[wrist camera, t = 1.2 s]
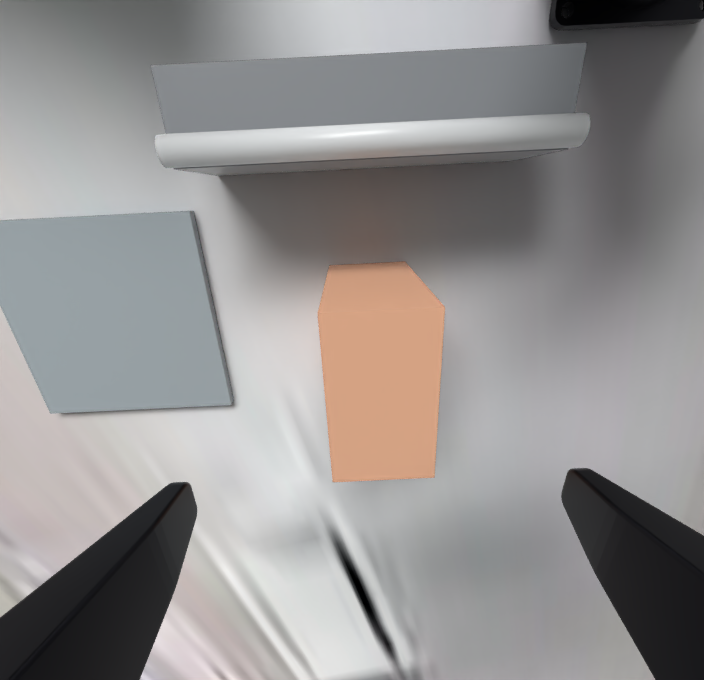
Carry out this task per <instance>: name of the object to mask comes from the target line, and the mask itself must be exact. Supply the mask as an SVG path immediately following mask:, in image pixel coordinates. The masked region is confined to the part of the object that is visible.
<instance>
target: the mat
mask: <svg viewBox="0 0 704 680" xmlns="http://www.w3.org/2000/svg"><path fill="white" fill-rule="evenodd" d="M0 306H1V308H2V311H3V313H4V315H5V317H6V319H7V321H8V323H9V326H10V328H11V330H12V332H13V334H14V336H15V338H16V341H17V343H18V345H19V347H20V349H21V351H22V353H23V356H24V358H25V360H26V362H27V364H28V366H29V368H30V371H31V373H32V375H33V377H34V379H35V381H36V383H37V386H38V388H39V390H40V392H41V394H42V396H43V399H44V401H45V403H46V405H47V407H48V409H49V411H50V414H51V413H72V412H93V411H114V410H136V409H157V408H178V407H199V406H220V405H231V404H232V403H233V401H234V399H233V395H232V390H231V385H230V381H229V376H228V371H227V366H226V362H225V357H224V352H223V348H222V343H221V338H220V334H219V329H218V324H217V319H216V315H215V310H214V305H213V301H212V296H211V291H210V286H209V282H208V277H207V272H206V268H205V263H204V258H203V253H202V249H201V244H200V239H199V235H198V230H197V225H196V221H195V216H194V211H180V212H160V213H140V214H120V215H100V216H80V217H60V218H40V219H20V220H0Z"/></svg>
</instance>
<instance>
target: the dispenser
mask: <svg viewBox="0 0 704 680" xmlns="http://www.w3.org/2000/svg"><path fill="white" fill-rule="evenodd" d="M586 46H587V43H568V44H548V45H529V46H510V47H491V48H471V49H452V50H433V51H414V52H394V53H375V54H356V55H337V56H317V57H298V58H279V59H259V60H240V61H221V62H202V63H182V64H163V65H151V69H152V74H153V78H154V83H155V87H156V91H157V96H158V100H159V105H160V109H161V114H162V118H163V123H164V127H165V132H166V134H157V135H156V136H155V149H156V153H157V156H158V158H159V160H160V162H161V163H162V165H163V166H164V167H165V168H174V169H176V170H183V171H190V172H196V173H203V174H210V175H216V176H222V175H242V174H261V173H281V172H301V171H321V170H341V169H361V168H380V167H400V166H420V165H440V164H460V163H480V162H499V161H514V160H518V159H523V158H528V157H533V156H538V155H543V154H548V153H552V152H557V151H562V150H567V149H568V148H576V147H579V146H581V145H582V144H583V143H584V141H585V140H586V138H587V136H588V133H589V130H590V124H591V120H590V116H589V114H588V113H575V108H576V103H577V97H578V91H579V86H580V80H581V74H582V69H583V63H584V57H585V52H586Z"/></svg>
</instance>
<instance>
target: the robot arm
mask: <svg viewBox="0 0 704 680" xmlns="http://www.w3.org/2000/svg"><path fill="white" fill-rule="evenodd" d="M700 1H701V0H552V3H551V10H550V23H551V26H552V27H553V28H554V29H556V30H575V29H594V28H614V27H633V26H652V25H671V24H690V23H696V22H699V21H701V20H703V19H704V0H702V1H703V9H702V10H701V9H700V7H699V6H700ZM562 7H566V8H567V9H568V17H567V18H564V17H563V16H562V14H561V10H562ZM561 498H562V503H563V506H564V508H565V510H566V512H567V514H568V516H569V519H570V521H571V523H572V525H573V527H574V530H575V532H576V534H577V536H578V538H579V540H580V543H581V545H582V547H583V549H584V551H585V553H586V556H587V558H588V560H589V562H590V564H591V566H592V568H593V570H594V572H595V574H596V576H597V578H598V580H599V581H600V583H601V585H602V587H603V589H604V590H605V592H606V594H607V596H608V597H609V599H610V601H611V603H612V604H613V606H614V608H615V610H616V611H617V613H618V615H619V617H620V618H621V620H622V622H623V624H624V625H625V627H626V629H627V631H628V632H629V634H630V636H631V638H632V639H633V641H634V643H635V645H636V646H637V648H638V650H639V652H640V653H641V655H642V657H643V659H644V660H645V662H646V664H647V666H648V667H649V669H650V671H651V673H652V674H653V676H654V678H655V680H704V536H703V535H702V534H700V533H698V532H696V531H695V530H693V529H691V528H690V527H688V526H686V525H685V524H683V523H681V522H679V521H678V520H676V519H674V518H673V517H671V516H669V515H667V514H666V513H664V512H662V511H661V510H659V509H657V508H656V507H654V506H652V505H650V504H649V503H647V502H645V501H644V500H642V499H640V498H639V497H637V496H635V495H633V494H632V493H630V492H628V491H627V490H625V489H623V488H621V487H620V486H618V485H616V484H615V483H613V482H611V481H610V480H608V479H606V478H604V477H603V476H601V475H599V474H598V473H596V472H594V471H592V470H591V469H588V468H575V469H570V470H569V471H568V473H567V476H566V479H565V483H564V486H563V490H562V495H561ZM196 517H197V505H196V501H195V498H194V494H193V491H192V487H191V485H190V484H189V483H188V482H174V483H170V484H169V485H167V486H166V487H165V488H163V489H162V490H161V491H159V492H158V493H157V494H156V495H154V496H153V497H152V498H151V499H149V500H148V501H147V502H146V503H144V504H143V505H142V506H141V507H139V508H138V509H137V510H135V511H134V512H133V513H132V514H130V515H129V516H128V517H127V518H125V519H124V520H123V521H122V522H120V523H119V524H118V525H117V526H115V527H114V528H113V529H111V530H110V531H109V532H108V533H106V534H105V535H104V536H103V537H101V538H100V539H99V540H98V541H96V542H95V543H94V544H93V545H91V546H90V547H89V548H87V549H86V550H85V551H84V552H82V553H81V554H80V555H79V556H77V557H76V558H75V559H74V560H72V561H71V562H70V563H69V564H67V565H66V566H65V567H63V568H62V569H61V570H60V571H58V572H57V573H56V574H55V575H53V576H52V577H51V578H50V579H48V580H47V581H46V582H44V583H43V584H42V585H41V586H39V587H38V588H37V589H36V590H34V591H33V592H32V593H31V594H29V595H28V596H27V597H26V598H24V599H23V600H22V601H20V602H19V603H18V604H17V605H15V606H14V607H13V608H12V609H10V610H9V611H8V612H7V613H5V614H4V615H3V616H2V617H0V680H140V677H141V675H142V672H143V670H144V667H145V664H146V662H147V659H148V657H149V654H150V652H151V649H152V647H153V644H154V642H155V639H156V637H157V634H158V632H159V629H160V627H161V624H162V622H163V619H164V616H165V614H166V611H167V609H168V606H169V604H170V601H171V599H172V596H173V593H174V591H175V588H176V585H177V582H178V579H179V575H180V572H181V569H182V565H183V562H184V558H185V555H186V551H187V548H188V545H189V541H190V538H191V534H192V531H193V527H194V524H195V520H196Z"/></svg>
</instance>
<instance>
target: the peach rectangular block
mask: <svg viewBox="0 0 704 680" xmlns="http://www.w3.org/2000/svg"><path fill="white" fill-rule="evenodd" d="M444 315H445V307H444V306H443V304H442V303H441V302H440V301H439V300H438V299H437V298H436V296H435V295H434V294H433V293H432V292H431V291H430V290H429V288H428V287H427V286H426V285H425V284H424V283H423V282H422V280H421V279H420V278H419V277H418V276H417V275H416V274H415V272H414V271H413V270H412V269H411V268H410V267H409V266H408V264H407V263H406V262H385V263H365V264H345V265H329V269H328V273H327V277H326V281H325V285H324V289H323V293H322V297H321V302H320V306H319V310H318V323H319V334H320V346H321V357H322V368H323V379H324V390H325V401H326V412H327V424H328V435H329V446H330V457H331V468H332V479H333V482H349V481H370V480H392V479H413V478H434V475H435V459H436V443H437V427H438V411H439V395H440V379H441V363H442V347H443V331H444Z"/></svg>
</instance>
